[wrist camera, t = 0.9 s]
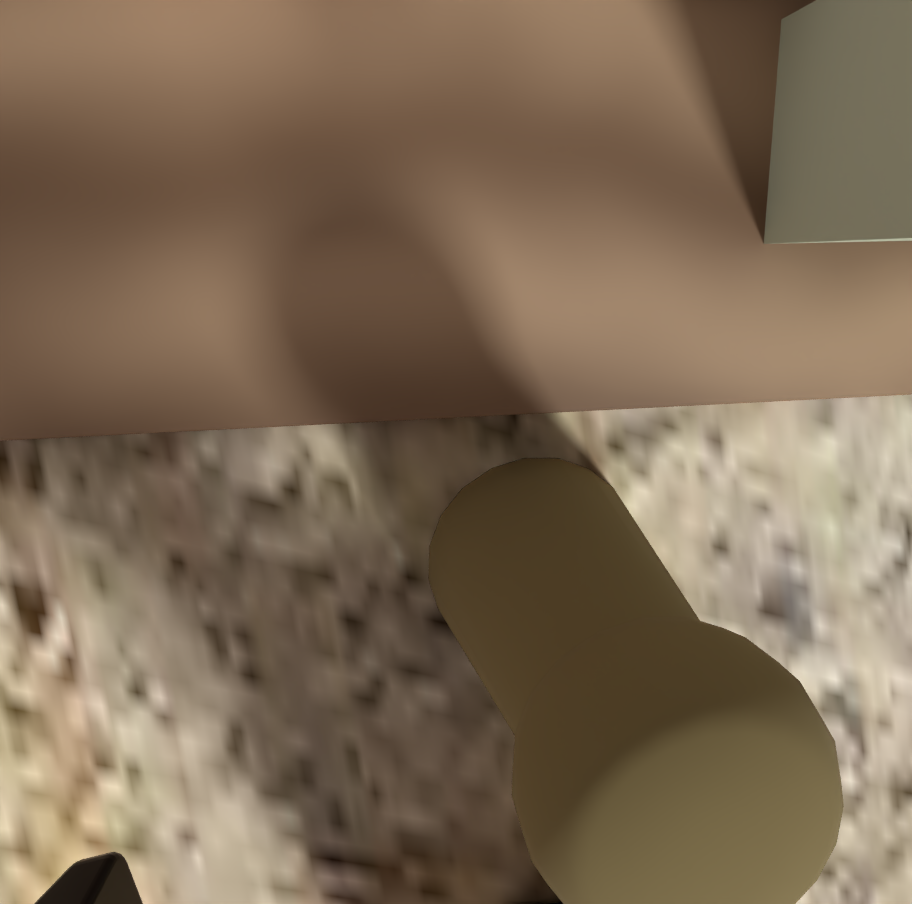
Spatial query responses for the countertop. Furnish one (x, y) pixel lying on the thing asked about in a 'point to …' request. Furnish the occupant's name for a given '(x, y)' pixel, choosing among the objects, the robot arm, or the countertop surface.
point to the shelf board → (409, 217)
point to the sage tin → (842, 125)
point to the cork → (629, 704)
